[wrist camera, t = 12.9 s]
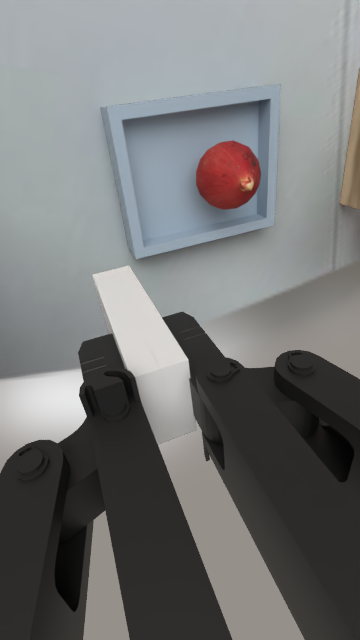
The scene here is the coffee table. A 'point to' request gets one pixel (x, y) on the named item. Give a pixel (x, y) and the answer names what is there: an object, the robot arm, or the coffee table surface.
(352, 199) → the wooden l-shaped bracket
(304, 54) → the coffee table surface
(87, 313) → the coffee table surface
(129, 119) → the tray
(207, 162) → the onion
